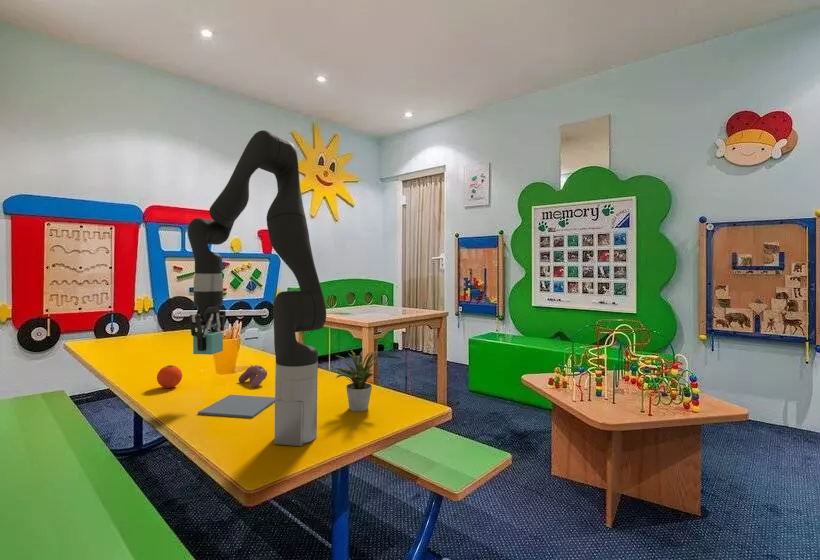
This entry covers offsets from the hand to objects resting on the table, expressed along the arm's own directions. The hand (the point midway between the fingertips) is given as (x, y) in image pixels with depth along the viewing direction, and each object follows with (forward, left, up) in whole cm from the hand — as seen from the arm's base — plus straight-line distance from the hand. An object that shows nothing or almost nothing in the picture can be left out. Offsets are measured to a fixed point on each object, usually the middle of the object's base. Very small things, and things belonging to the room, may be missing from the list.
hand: (208, 348), depth 119 cm
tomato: (+10, +19, -15) cm, 26 cm away
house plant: (+3, -44, -15) cm, 46 cm away
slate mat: (-3, -12, -15) cm, 19 cm away
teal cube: (0, 0, -1) cm, 1 cm away
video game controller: (+18, -4, -15) cm, 24 cm away
